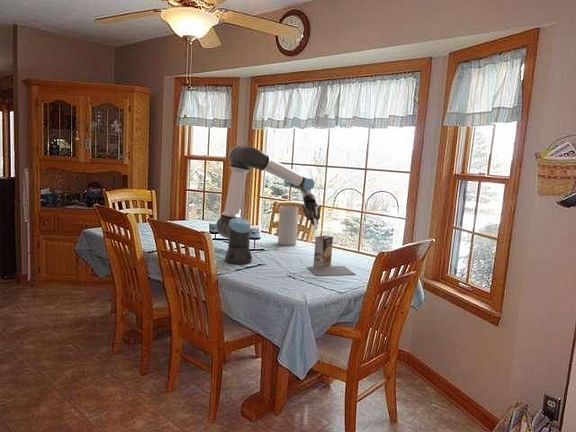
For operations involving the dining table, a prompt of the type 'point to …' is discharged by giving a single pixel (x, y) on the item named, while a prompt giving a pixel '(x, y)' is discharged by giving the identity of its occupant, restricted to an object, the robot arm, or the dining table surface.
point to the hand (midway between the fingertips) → (316, 228)
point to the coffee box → (323, 250)
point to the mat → (330, 271)
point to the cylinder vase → (288, 225)
